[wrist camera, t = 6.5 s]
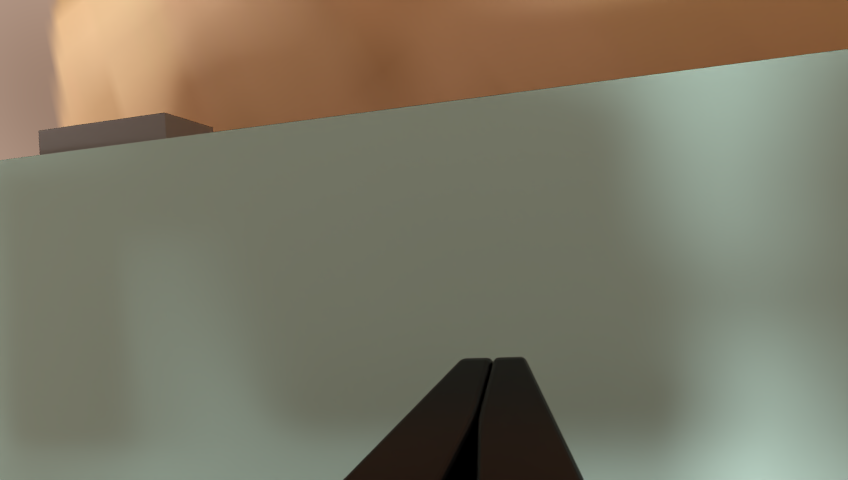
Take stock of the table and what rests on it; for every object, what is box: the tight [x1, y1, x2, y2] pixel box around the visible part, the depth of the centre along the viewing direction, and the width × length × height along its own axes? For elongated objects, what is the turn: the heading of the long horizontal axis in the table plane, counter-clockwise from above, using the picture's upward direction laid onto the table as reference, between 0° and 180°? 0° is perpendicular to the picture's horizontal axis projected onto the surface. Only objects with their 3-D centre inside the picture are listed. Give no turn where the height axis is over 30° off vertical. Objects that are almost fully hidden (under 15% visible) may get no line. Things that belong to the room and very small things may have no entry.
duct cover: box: [0, 49, 848, 480], centre depth 11 cm, size 9×22×2 cm, turn 90°
